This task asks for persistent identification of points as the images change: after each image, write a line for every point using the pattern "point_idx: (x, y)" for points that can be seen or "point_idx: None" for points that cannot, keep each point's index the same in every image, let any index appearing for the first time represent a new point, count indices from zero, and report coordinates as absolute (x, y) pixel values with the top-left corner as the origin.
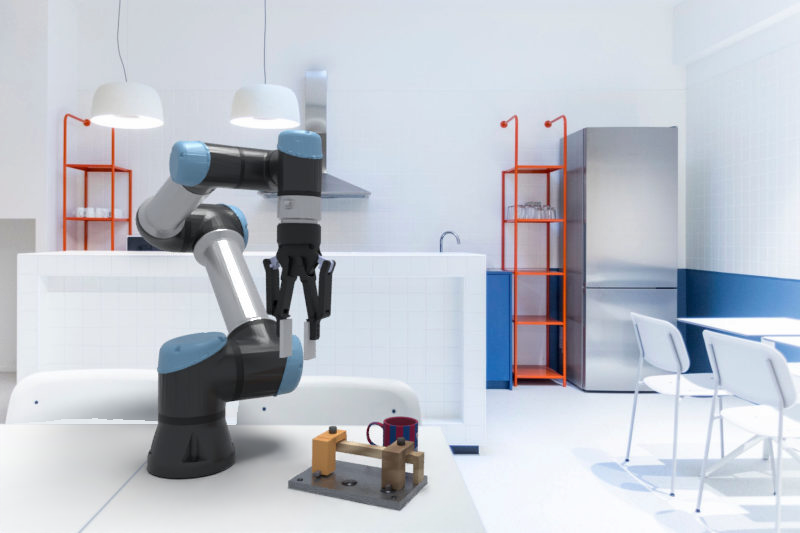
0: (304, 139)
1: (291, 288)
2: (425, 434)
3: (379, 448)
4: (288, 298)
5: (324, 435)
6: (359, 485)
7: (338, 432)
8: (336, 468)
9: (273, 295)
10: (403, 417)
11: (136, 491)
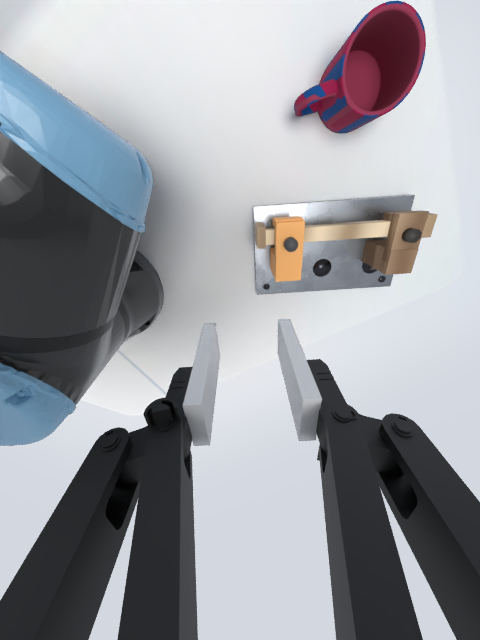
0: None
1: (185, 636)
2: None
3: (365, 233)
4: (187, 536)
5: (284, 261)
6: (335, 268)
7: (297, 237)
8: None
9: (103, 571)
10: (381, 11)
11: (143, 356)
